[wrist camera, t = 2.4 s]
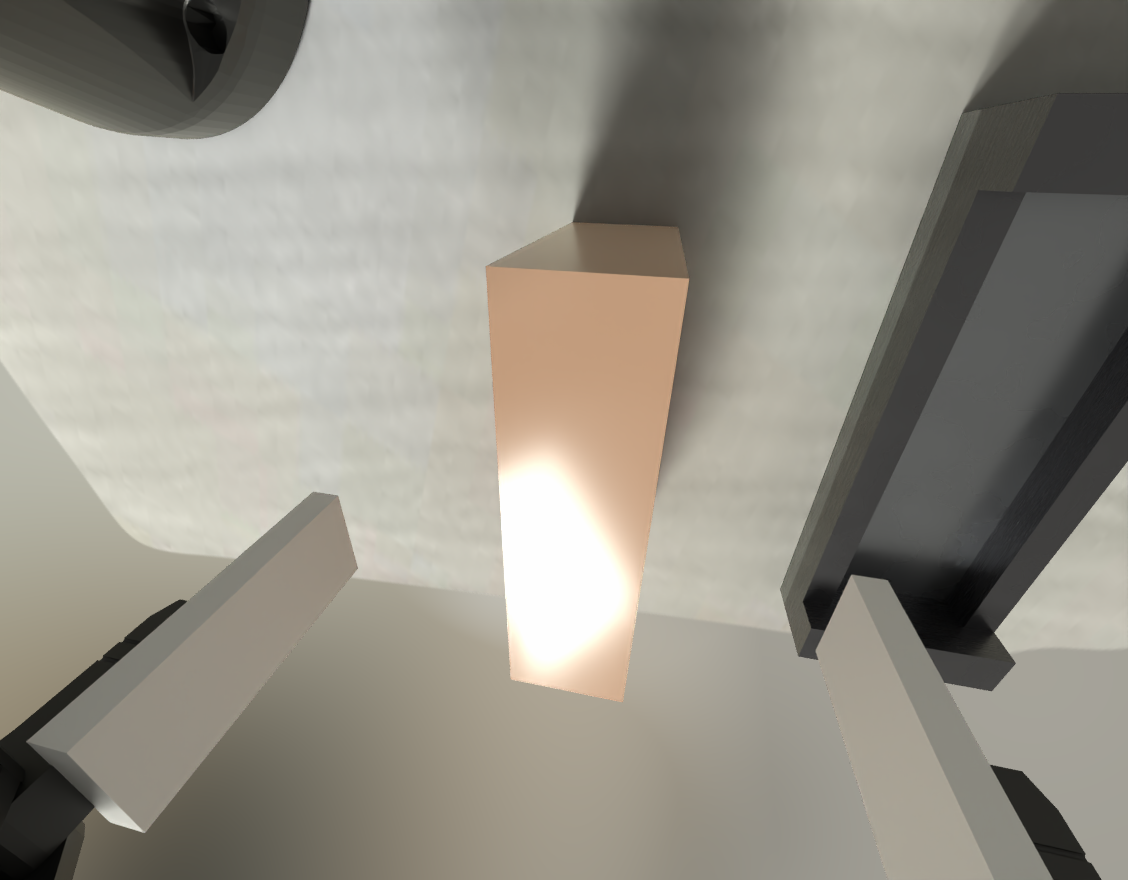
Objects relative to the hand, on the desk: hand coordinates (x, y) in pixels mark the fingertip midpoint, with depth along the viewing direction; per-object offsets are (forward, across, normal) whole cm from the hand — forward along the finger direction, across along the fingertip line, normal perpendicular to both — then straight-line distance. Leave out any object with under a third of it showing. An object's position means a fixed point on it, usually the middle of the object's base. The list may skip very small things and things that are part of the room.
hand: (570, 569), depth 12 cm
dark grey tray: (+11, +14, 0) cm, 17 cm away
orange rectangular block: (+11, 0, 0) cm, 11 cm away
